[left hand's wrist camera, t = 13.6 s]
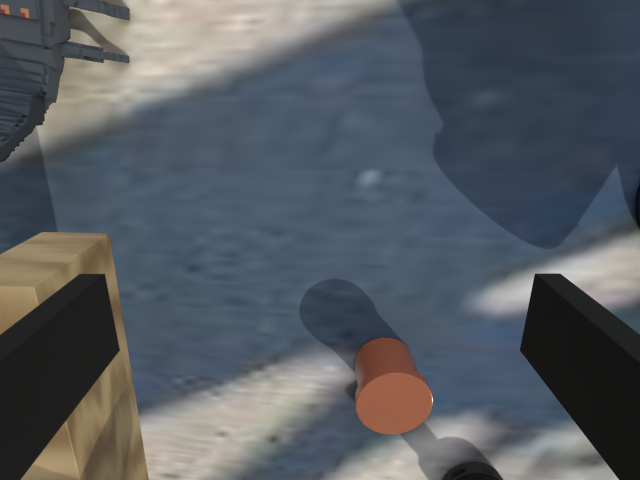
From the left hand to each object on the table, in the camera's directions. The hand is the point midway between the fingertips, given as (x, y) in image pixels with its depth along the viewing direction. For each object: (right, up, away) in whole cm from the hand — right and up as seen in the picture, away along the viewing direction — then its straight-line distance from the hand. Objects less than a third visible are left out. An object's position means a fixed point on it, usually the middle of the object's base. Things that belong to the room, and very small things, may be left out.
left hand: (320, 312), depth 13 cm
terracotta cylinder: (+8, -12, +36) cm, 39 cm away
